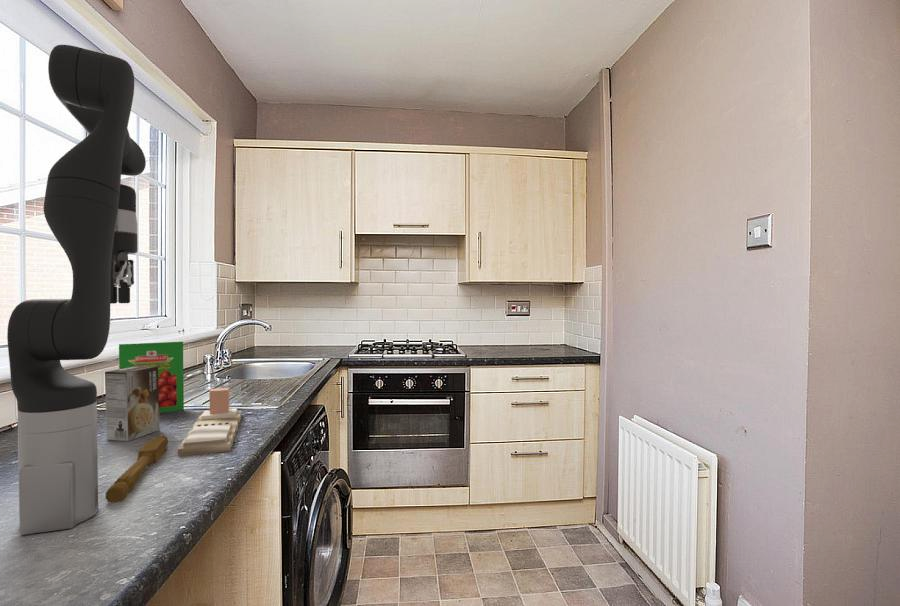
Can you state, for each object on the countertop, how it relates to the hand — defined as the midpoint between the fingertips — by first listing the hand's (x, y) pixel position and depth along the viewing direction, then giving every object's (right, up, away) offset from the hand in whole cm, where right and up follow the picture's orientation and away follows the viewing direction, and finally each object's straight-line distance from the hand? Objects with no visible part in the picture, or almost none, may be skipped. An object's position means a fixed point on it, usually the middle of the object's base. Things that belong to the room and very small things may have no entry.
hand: (117, 303), depth 107 cm
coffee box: (-1, -32, +7) cm, 33 cm away
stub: (+14, -30, +19) cm, 38 cm away
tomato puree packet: (-9, -31, +27) cm, 43 cm away
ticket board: (+18, -32, +8) cm, 37 cm away
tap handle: (+15, -33, -15) cm, 39 cm away
